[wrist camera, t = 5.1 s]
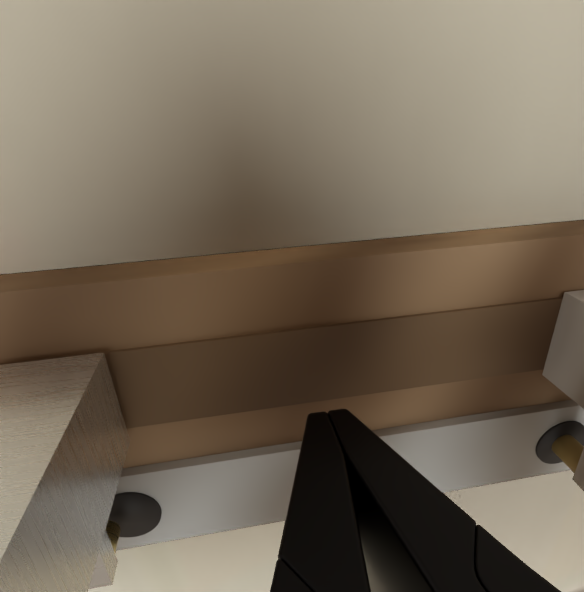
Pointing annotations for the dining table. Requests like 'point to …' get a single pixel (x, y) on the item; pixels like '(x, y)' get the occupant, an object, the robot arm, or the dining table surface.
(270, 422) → the board
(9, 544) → the block
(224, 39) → the dining table surface
